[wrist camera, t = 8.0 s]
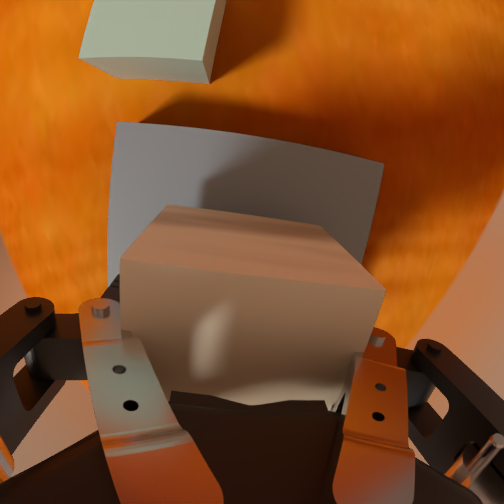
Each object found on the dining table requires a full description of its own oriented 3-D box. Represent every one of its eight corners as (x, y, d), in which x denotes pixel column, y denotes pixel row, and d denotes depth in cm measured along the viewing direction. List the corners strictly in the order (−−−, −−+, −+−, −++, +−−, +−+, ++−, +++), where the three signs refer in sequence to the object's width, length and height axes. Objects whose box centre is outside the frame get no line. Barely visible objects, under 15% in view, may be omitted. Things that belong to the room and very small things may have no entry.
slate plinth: (135, 124, 15) (116, 121, 12) (359, 159, 16) (384, 163, 14) (125, 328, 19) (111, 356, 16) (313, 348, 20) (325, 377, 17)
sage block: (136, -2, 13) (109, -42, 8) (226, 2, 13) (226, -44, 8) (117, 78, 14) (78, 58, 9) (209, 84, 15) (202, 60, 10)
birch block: (167, 204, 12) (120, 258, 6) (319, 225, 13) (385, 289, 7) (159, 336, 14) (131, 438, 8) (289, 349, 15) (318, 451, 9)
